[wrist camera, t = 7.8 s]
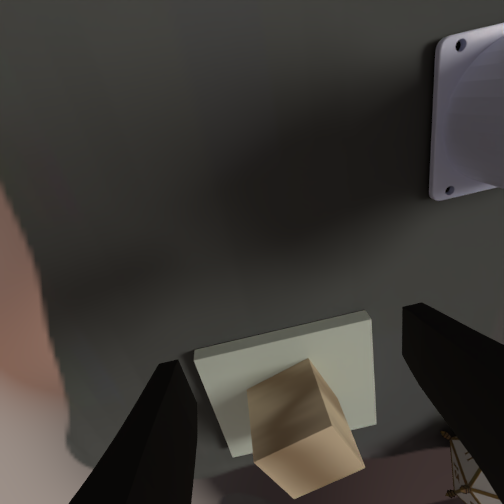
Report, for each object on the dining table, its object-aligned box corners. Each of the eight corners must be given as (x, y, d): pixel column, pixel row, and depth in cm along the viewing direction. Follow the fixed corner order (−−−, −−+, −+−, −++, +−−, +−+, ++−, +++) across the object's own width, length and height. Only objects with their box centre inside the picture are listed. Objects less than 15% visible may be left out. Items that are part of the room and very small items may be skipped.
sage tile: (364, 310, 21) (371, 319, 21) (371, 413, 26) (376, 424, 25) (194, 349, 22) (193, 360, 21) (232, 445, 26) (232, 457, 26)
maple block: (308, 357, 22) (332, 425, 17) (337, 398, 24) (365, 467, 19) (246, 389, 22) (253, 462, 18) (280, 425, 24) (294, 499, 20)
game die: (434, 388, 32) (501, 426, 22) (524, 421, 30) (639, 476, 20) (411, 480, 30) (471, 563, 21) (504, 518, 29) (616, 625, 19)
